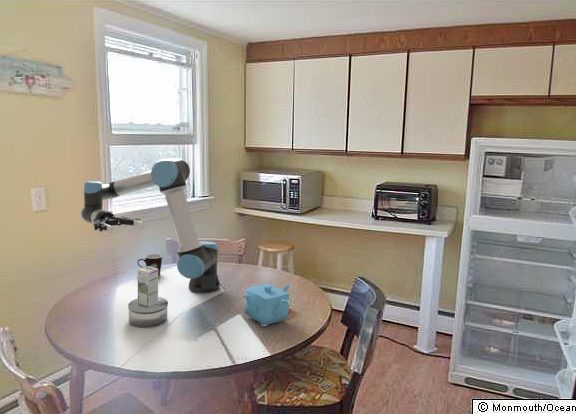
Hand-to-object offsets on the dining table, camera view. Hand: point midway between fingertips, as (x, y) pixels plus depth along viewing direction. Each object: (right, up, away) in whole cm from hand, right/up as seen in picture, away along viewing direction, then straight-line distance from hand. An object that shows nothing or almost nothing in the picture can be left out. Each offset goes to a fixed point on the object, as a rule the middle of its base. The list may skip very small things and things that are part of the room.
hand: (127, 227), depth 173 cm
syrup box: (+11, -30, -8) cm, 33 cm away
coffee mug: (-5, -27, +45) cm, 53 cm away
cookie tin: (+11, -37, -7) cm, 39 cm away
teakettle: (+59, -39, -1) cm, 70 cm away
